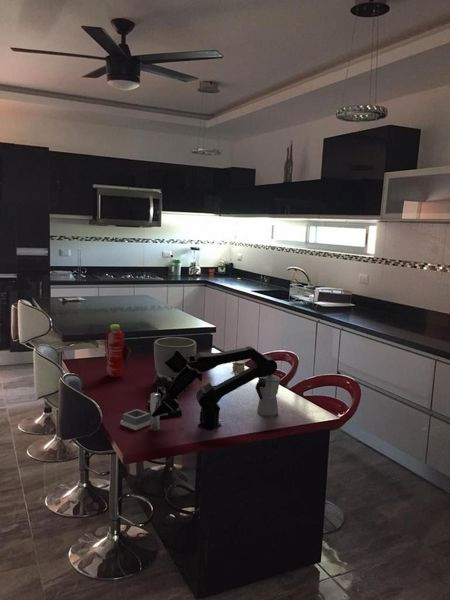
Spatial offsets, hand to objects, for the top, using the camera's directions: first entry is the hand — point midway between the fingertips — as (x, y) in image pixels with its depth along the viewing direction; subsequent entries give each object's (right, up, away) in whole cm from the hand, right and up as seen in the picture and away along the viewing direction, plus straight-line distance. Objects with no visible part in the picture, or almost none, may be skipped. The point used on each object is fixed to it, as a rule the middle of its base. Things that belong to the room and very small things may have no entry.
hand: (151, 411), depth 182 cm
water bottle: (-25, +4, +62) cm, 67 cm away
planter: (+3, +2, +56) cm, 56 cm away
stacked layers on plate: (+33, +3, +77) cm, 84 cm away
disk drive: (+2, -5, +20) cm, 20 cm away
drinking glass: (+1, -7, +1) cm, 7 cm away
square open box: (-6, -6, +5) cm, 10 cm away
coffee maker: (+43, -5, +21) cm, 48 cm away
